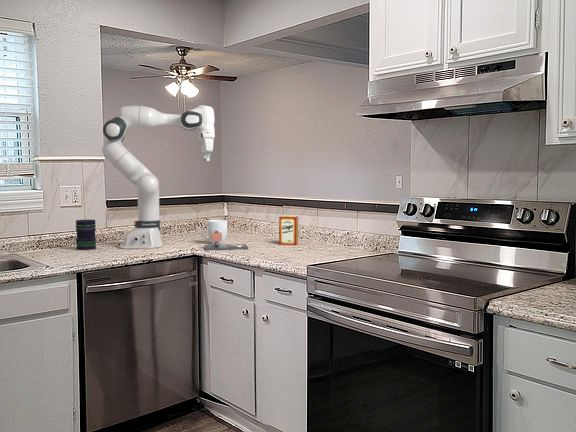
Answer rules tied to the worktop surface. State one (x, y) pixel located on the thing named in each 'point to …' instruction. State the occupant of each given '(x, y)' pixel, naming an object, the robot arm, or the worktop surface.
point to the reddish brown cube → (216, 236)
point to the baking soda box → (288, 230)
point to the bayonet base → (225, 246)
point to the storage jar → (85, 234)
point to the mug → (216, 229)
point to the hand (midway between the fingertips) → (206, 161)
